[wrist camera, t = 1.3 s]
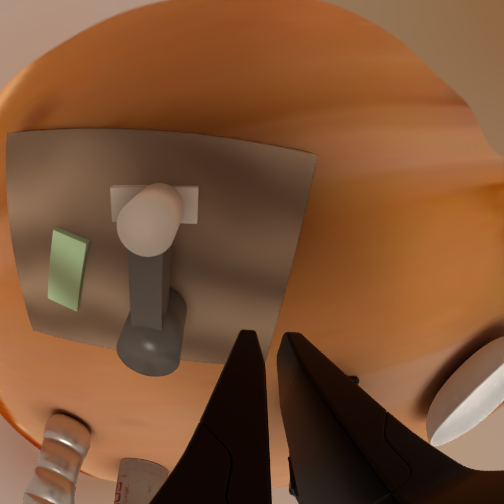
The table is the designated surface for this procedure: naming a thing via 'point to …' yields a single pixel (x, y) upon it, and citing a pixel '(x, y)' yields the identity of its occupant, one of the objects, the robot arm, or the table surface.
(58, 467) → the plastic bottle
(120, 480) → the thermos bottle
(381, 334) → the table surface
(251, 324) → the board
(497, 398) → the serving bowl
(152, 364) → the peg
